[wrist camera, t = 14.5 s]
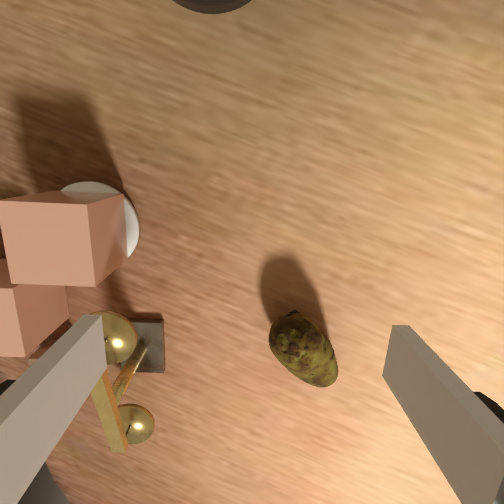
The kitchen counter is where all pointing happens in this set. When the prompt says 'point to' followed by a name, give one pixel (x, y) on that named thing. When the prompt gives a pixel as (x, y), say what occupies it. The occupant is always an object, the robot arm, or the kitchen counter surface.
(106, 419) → the balance
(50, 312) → the tan cardboard-like box
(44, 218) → the peach pink cube
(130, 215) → the dish
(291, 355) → the potato
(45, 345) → the gray metal block
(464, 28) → the kitchen counter surface
